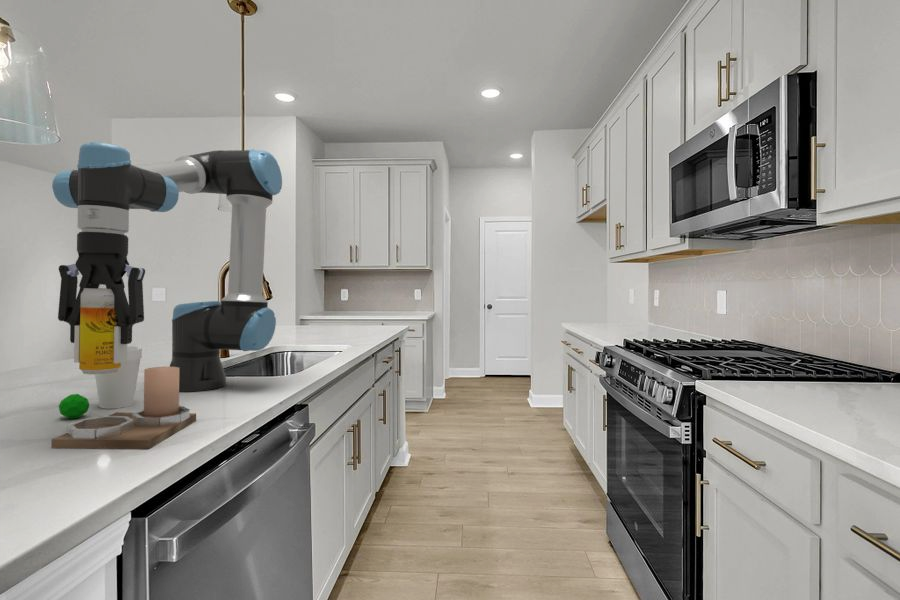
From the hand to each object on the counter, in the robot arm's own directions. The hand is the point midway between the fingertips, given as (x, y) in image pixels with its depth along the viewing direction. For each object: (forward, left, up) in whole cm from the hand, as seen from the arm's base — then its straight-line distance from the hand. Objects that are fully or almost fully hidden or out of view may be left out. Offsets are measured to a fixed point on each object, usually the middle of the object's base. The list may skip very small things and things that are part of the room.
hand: (100, 361), depth 89 cm
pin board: (-4, +3, -14) cm, 15 cm away
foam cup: (-25, -12, -14) cm, 31 cm away
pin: (-8, +6, -13) cm, 16 cm away
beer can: (0, 0, -2) cm, 2 cm away
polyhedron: (-14, -14, -14) cm, 25 cm away
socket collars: (-4, +3, -13) cm, 14 cm away
